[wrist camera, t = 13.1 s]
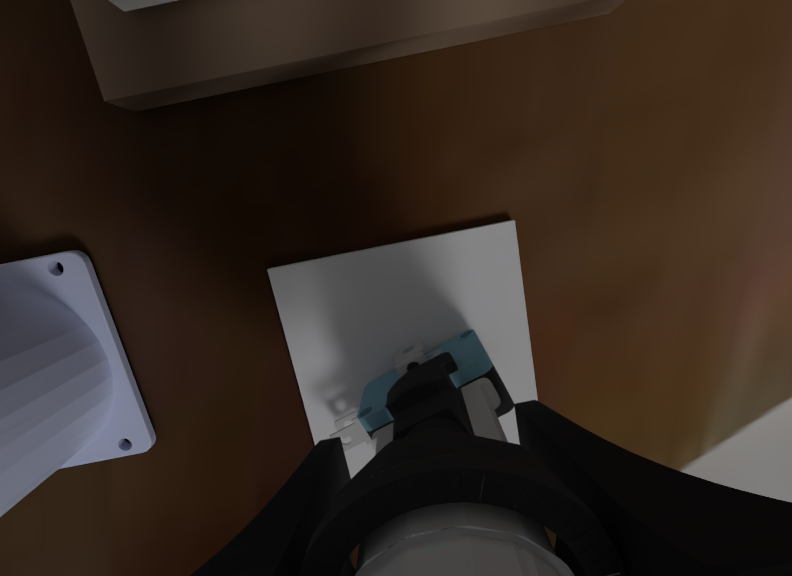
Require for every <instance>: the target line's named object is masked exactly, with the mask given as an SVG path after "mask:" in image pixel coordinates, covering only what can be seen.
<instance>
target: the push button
mask: <svg viewBox="0 0 792 576" xmlns="http://www.w3.org/2000/svg"><path fill="white" fill-rule="evenodd" d="M413 347H414V348H413ZM410 348H413V350H411V351H410V352H408V353H406V354H404V353H405V352H406V351H407V350H408V349H410ZM355 408H356V410H355V411H353V412H351V413H349V414H347V415H345V416H344V417H342V418H340V419H338V420H336V421H334V426H335V428H336V429H337V432H335V433H333V434H331V435H330V437H329V439H330V438H336V437H342V438H347V437H349V436H350V437H351V442H349V443H347V444H345V443H342V446H343V450H344V452H345V451H347V450H349V449H351V448H353V447H355V446H357V445H359V444H361V443H363V442H366V443H367V444H369V443H371V445H372V448H373V449H374V451H375V456H374V457H373V458H372V459H371V460H370V461H369V462H368V463H367V464H366V465H365V466H364V467H363V468H362V469H361V470H360V471H359V472H358V473H357V474H356V475H355V476H354V477H353V478H352V479H351V480H350V481H349V482H348V483H347V484H346V485H344V486H343V487H342V488H341V489H340V490H339V491H338V492H337V494H336V495H335V496H334V498H333V502H332V506H331V509H330V510H329V511H328V513H327V514H326V515H325V517H324V518H323V519H322V520H321V522H320V524H319V525H318V527H317V529H316V530H315V532H314V534H313V536H312V538H311V540H310V543H309V545H308V547H307V551H306V554H305V557H304V561H303V564H302V568H301V572H300V575H299V576H626V574H625V570H624V567H623V564H622V562H621V559H620V556H619V554H618V552H617V550H616V548H615V547H614V545H613V543H612V541H611V539H610V538H609V536H608V534H607V533H606V531H605V529H604V528H603V526H602V524H601V523H600V522H599V520H598V519H597V517H596V516H595V515H594V513H593V512H592V511H591V509H590V508H589V507H588V506H587V505H586V504H585V503H584V502H583V501H582V500H581V499H580V498H579V497H578V496H577V495H576V494H574V493H573V492H572V491H571V490H570V489H568V488H567V487H565V486H564V485H563V484H562V482H561V480H560V478H559V477H558V476H557V475H556V474H555V473H554V472H553V471H552V470H551V469H550V468H548V467H547V466H546V465H545V464H544V463H543V462H541V461H540V460H539V459H538V458H537V457H536V456H535V455H533V454H532V453H531V452H530V451H529V450H528V449H526V448H525V447H523V446H521V445H519V444H514V443H509V442H508V441H507V438H506V436H505V433H504V431H503V429H502V426H501V424H500V422H499V419H498V417H500V416H502V415H505V414H507V413H508V412H510V411H511V410H512V409H513V408H514V402H513V400H512V398H511V396H510V394H509V392H508V391H507V389H506V387H505V385H504V383H503V381H502V379H501V378H500V376H499V374H498V372H497V370H496V368H495V367H494V365H493V363H492V361H491V359H490V358H489V356H488V354H487V352H486V351H485V349H484V347H483V345H482V343H481V342H480V340H479V338H478V336H477V334H476V333H475V331H474V330H473V329H469V330H466V331H464V332H462V333H460V334H458V335H457V336H456V337H454V338H452V339H451V340H449V341H447V342H445V343H443V344H441V345H439V346H437V347H435V348H433V349H432V350H430V351H428V352H426V353H423V343H422V340H421V339H419V340H416V341H414V342H412V343H410V344H408V345H406V346H404V347H403V348H401V349H399V350H398V351H397V352H396V353H395V369H394V370H392V371H390V372H388V373H386V374H384V375H382V376H380V377H378V378H376V379H375V380H373V381H371V382H369V383H368V384H367V385H366V386H365V387H364V390H363V395H362V399H361V403H360V404H358V405H357V406H355ZM346 421H352V422H353V423H352V424H350V425H349V426H347V427H344V423H345V422H346ZM543 525H544V526H546V527H547V528H548V529H550V530H551V531H552V532H554V533H555V534H556V543H555V549H553V547H552V545H551V542H550V540H549V538H548V535H547V533H546V531H545V528H544V526H543ZM359 543H360V546H359V553H358V560H357V568H356V571H355V569H354V567H353V565H352V563H351V560H350V558H349V555H350V553H351V552H352V551H353V549H354V548H355V547H356V546H357V545H358V544H359Z"/></svg>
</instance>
